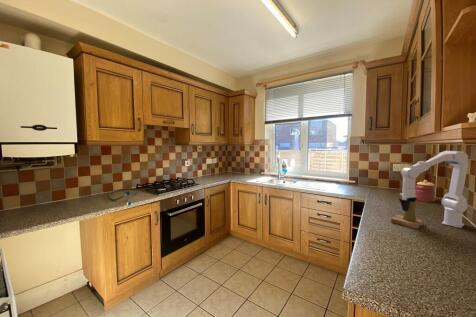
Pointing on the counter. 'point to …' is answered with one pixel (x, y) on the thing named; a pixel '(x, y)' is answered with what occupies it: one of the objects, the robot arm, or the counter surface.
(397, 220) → the tan flat block
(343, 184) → the counter surface
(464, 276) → the counter surface
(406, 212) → the olive rounded piece
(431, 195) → the canister
